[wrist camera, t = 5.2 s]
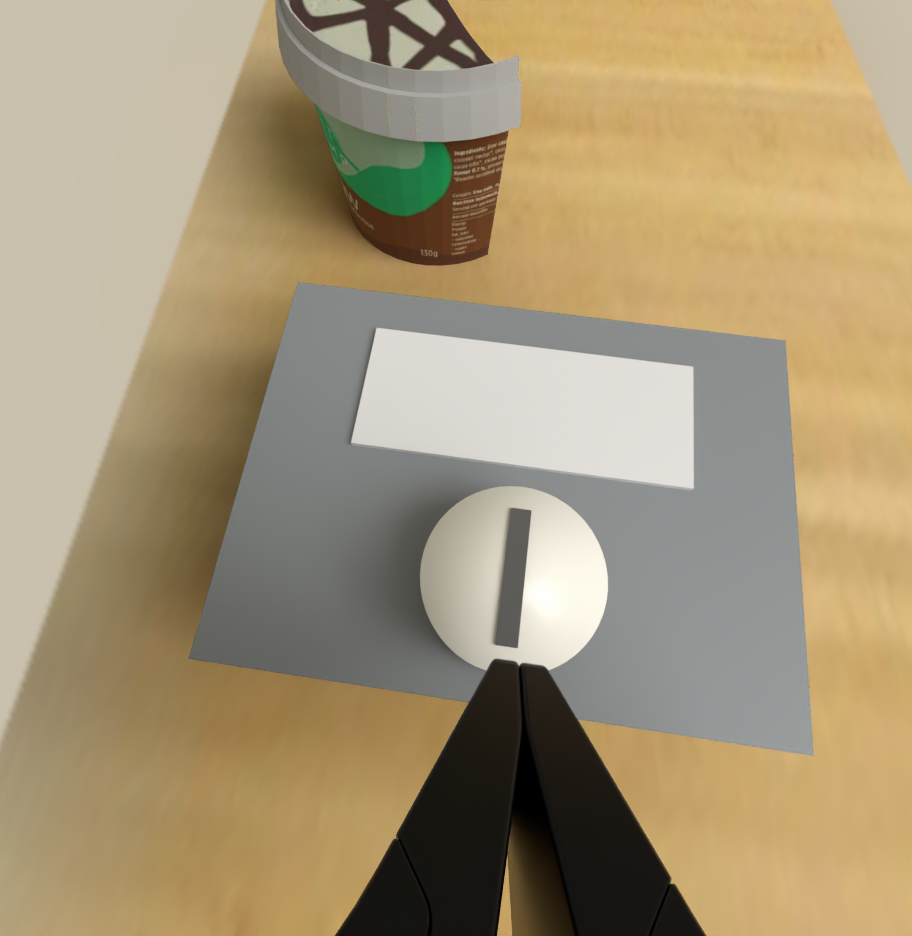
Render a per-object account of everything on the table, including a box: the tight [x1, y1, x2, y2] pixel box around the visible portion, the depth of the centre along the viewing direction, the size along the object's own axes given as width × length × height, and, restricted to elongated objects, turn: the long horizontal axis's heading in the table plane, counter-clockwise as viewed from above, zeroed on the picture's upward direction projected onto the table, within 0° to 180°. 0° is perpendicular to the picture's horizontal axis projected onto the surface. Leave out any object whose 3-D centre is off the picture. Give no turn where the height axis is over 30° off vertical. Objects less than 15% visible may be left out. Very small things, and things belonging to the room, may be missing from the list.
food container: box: [275, 0, 521, 265], centre depth 23 cm, size 12×6×10 cm, turn 29°
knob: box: [420, 486, 608, 670], centre depth 16 cm, size 4×4×6 cm
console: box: [189, 282, 814, 756], centre depth 19 cm, size 12×16×7 cm
